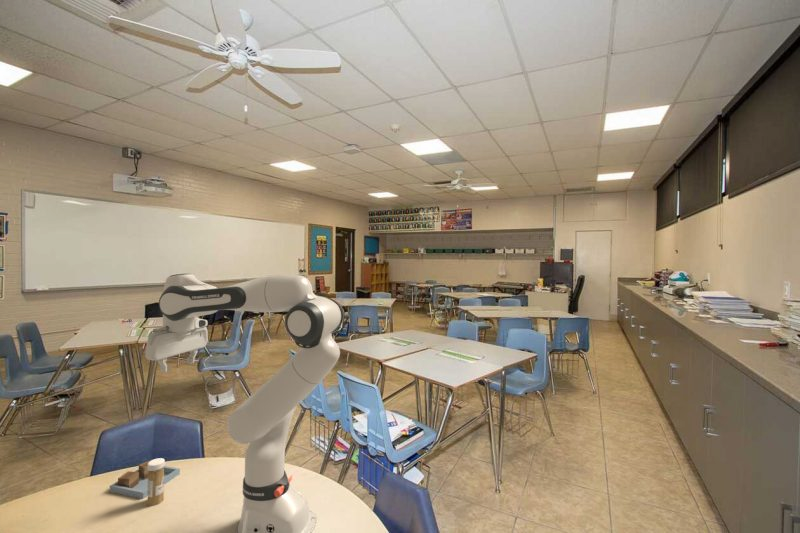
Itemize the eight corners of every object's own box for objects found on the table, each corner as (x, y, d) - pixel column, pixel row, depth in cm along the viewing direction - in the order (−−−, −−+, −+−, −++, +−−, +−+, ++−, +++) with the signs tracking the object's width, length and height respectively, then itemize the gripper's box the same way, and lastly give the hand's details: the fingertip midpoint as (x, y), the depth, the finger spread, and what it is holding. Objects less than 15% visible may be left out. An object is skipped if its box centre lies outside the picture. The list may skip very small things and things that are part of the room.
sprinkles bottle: (163, 504, 111) (164, 462, 111) (146, 509, 108) (147, 466, 109) (164, 496, 115) (164, 455, 115) (147, 501, 112) (147, 460, 112)
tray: (179, 475, 126) (179, 468, 126) (143, 500, 113) (143, 492, 113) (148, 469, 130) (149, 463, 130) (109, 493, 116) (109, 485, 116)
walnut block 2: (156, 473, 126) (156, 462, 126) (144, 479, 123) (144, 468, 123) (150, 470, 128) (150, 459, 128) (138, 476, 125) (138, 465, 125)
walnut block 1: (138, 483, 121) (138, 471, 121) (129, 490, 117) (129, 478, 117) (127, 482, 121) (127, 471, 121) (117, 490, 117) (117, 478, 117)
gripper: (157, 330, 100) (156, 378, 100) (211, 320, 120) (210, 360, 120) (140, 329, 102) (139, 376, 102) (196, 319, 122) (195, 358, 122)
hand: (178, 367), depth 111 cm, fingers open, 8 cm apart
